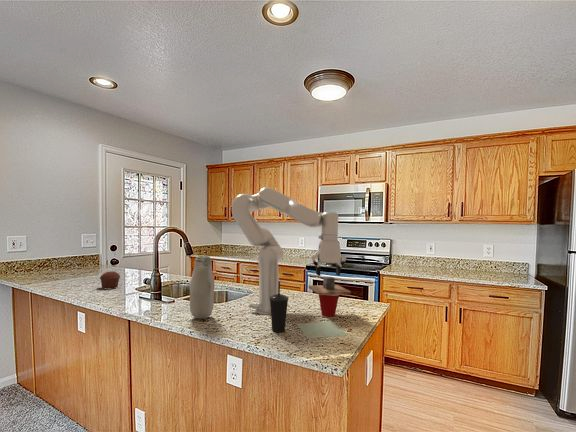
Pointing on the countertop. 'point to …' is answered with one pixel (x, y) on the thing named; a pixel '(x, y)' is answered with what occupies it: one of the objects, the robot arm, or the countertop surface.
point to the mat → (321, 329)
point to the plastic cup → (328, 304)
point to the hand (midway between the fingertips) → (328, 275)
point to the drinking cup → (278, 311)
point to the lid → (329, 287)
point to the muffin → (110, 279)
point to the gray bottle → (202, 288)
